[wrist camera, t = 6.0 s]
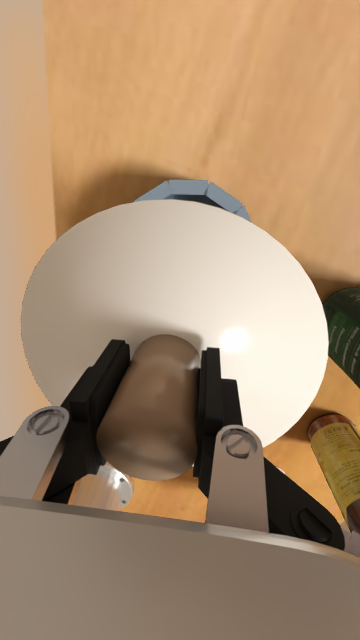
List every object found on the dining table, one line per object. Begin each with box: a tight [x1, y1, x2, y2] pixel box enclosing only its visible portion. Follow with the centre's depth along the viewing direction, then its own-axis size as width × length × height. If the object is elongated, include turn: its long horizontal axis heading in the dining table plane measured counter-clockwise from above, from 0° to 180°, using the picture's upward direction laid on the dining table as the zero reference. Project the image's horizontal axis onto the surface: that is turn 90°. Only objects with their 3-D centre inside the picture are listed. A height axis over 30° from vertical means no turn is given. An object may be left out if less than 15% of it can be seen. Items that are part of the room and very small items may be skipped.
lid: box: [21, 199, 329, 481], centre depth 11 cm, size 14×14×6 cm
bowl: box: [135, 180, 251, 222], centre depth 25 cm, size 12×12×6 cm
